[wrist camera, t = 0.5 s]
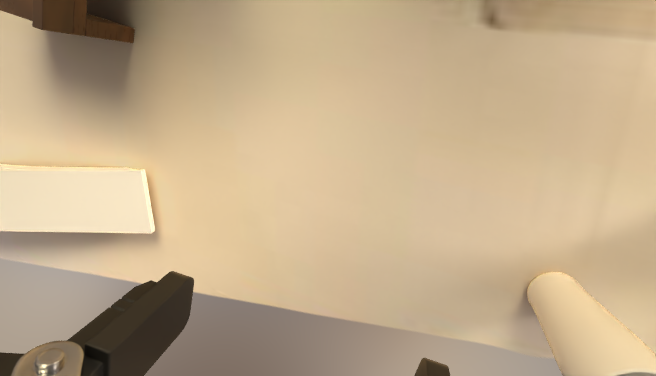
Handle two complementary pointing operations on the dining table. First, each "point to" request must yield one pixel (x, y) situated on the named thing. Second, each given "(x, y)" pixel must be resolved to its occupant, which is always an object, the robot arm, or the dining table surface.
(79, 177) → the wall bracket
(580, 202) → the dining table surface
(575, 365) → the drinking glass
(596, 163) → the dining table surface
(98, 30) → the shelf
